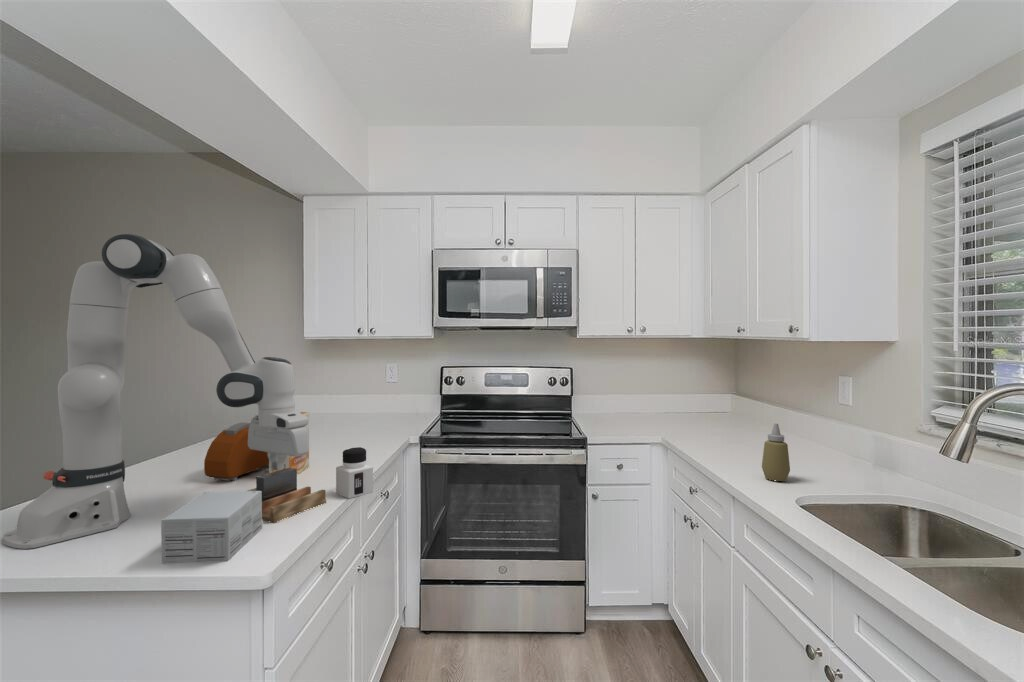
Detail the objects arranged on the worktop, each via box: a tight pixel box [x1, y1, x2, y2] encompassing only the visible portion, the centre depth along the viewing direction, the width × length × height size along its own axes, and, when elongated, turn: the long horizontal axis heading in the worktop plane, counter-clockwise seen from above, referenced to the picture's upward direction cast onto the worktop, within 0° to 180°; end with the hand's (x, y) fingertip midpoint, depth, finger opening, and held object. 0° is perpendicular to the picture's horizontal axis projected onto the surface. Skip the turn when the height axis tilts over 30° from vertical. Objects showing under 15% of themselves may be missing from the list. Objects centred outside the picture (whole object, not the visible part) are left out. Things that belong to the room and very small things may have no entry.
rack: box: [246, 486, 327, 524], centre depth 130 cm, size 16×19×4 cm
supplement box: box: [160, 490, 263, 565], centre depth 106 cm, size 17×13×9 cm
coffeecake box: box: [268, 411, 310, 475], centre depth 161 cm, size 15×7×20 cm, turn 179°
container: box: [335, 446, 374, 499], centre depth 141 cm, size 8×8×13 cm
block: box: [255, 468, 298, 501], centre depth 130 cm, size 10×3×8 cm, turn 153°
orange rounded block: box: [203, 422, 269, 482], centre depth 162 cm, size 23×9×17 cm, turn 169°
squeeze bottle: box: [761, 423, 791, 482], centre depth 156 cm, size 8×8×18 cm
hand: (277, 469), depth 130 cm, fingers closed
